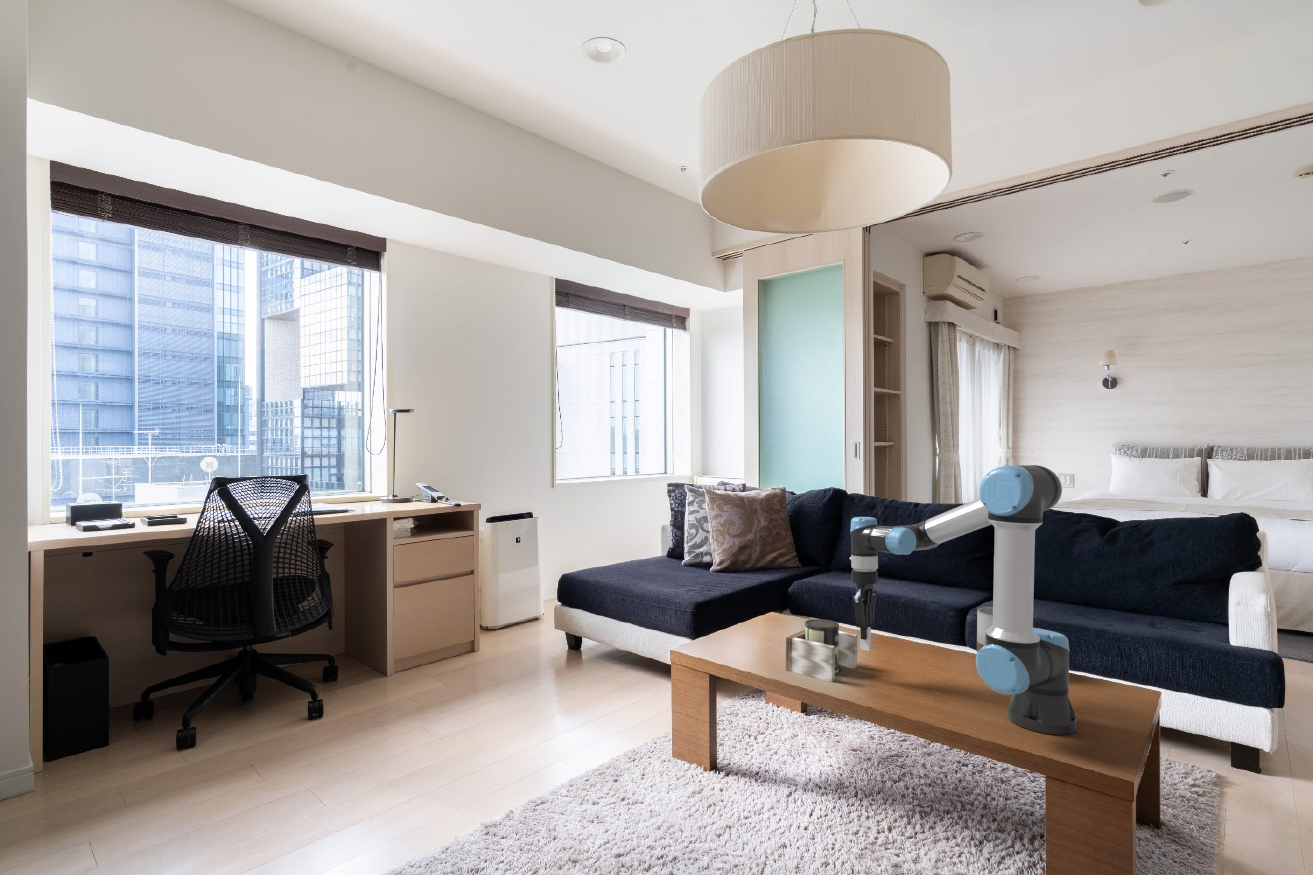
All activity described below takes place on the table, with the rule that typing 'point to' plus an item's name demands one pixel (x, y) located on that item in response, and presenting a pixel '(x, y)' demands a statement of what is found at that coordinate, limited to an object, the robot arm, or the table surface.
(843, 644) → the holder
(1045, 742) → the table surface
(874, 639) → the table surface
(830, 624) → the coffee can
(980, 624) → the planter
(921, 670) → the table surface
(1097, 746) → the table surface
